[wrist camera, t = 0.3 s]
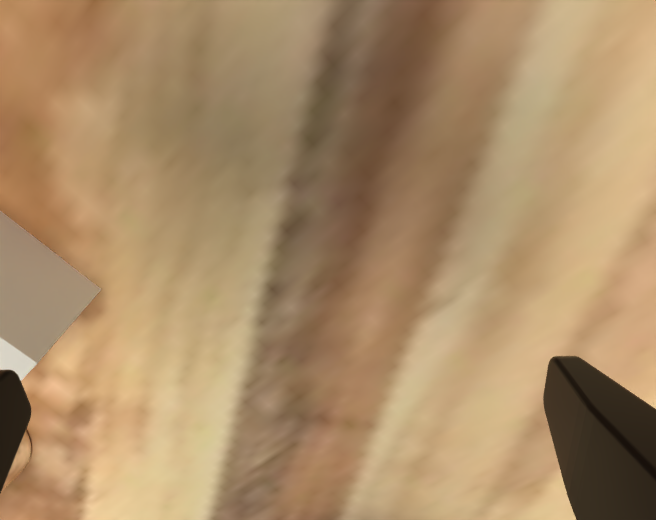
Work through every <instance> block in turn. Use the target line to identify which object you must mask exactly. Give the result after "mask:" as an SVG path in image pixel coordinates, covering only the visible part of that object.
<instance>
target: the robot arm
mask: <svg viewBox="0 0 656 520" xmlns="http://www.w3.org/2000/svg"><path fill="white" fill-rule="evenodd" d="M543 401H544V409H545V413H546V417H547V421H548V425H549V428H550V432H551V436H552V440H553V443H554V447H555V451H556V455H557V458H558V462H559V466H560V470H561V473H562V477H563V481H564V485H565V488H566V491H567V495H568V498H569V501H570V503H571V506H572V509H573V512H574V514H575V517H576V519H577V520H656V409H655V408H653V407H652V406H650V405H649V404H647V403H646V402H645V401H643V400H642V399H640V398H639V397H637V396H636V395H634V394H633V393H631V392H630V391H628V390H627V389H625V388H624V387H622V386H621V385H620V384H618V383H617V382H615V381H614V380H612V379H611V378H609V377H608V376H606V375H605V374H603V373H602V372H600V371H599V370H598V369H596V368H595V367H593V366H592V365H590V364H589V363H587V362H586V361H584V360H583V359H581V358H579V357H577V356H555V357H553V358H552V359H551V360H550V362H549V365H548V370H547V377H546V383H545V389H544V397H543ZM30 417H31V406H30V403H29V400H28V398H27V395H26V393H25V390H24V388H23V386H22V383H21V381H20V378H19V376H18V374H17V373H16V372H15V371H13V370H0V493H1V491H2V488H3V486H4V483H5V481H6V478H7V476H8V473H9V471H10V468H11V466H12V463H13V461H14V458H15V456H16V453H17V451H18V448H19V446H20V443H21V441H22V438H23V436H24V433H25V431H26V428H27V426H28V423H29V421H30Z"/></svg>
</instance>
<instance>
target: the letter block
mask: <svg viewBox="0 0 656 520" xmlns="http://www.w3.org/2000/svg"><path fill="white" fill-rule="evenodd" d="M100 291H101V288H99V287H98V286H97V285H95V284H94V283H93V282H92V281H90V280H89V279H88V278H86V277H85V276H84V275H83V274H81V273H80V272H79V271H77V270H76V269H75V268H74V267H72V266H71V265H70V264H68V263H67V262H66V261H65V260H63V259H62V258H61V257H59V256H58V255H57V254H56V253H54V252H53V251H52V250H50V249H49V248H48V247H47V246H45V245H44V244H43V243H41V242H40V241H39V240H38V239H36V238H35V237H34V236H32V235H31V234H30V233H29V232H27V231H26V230H25V229H23V228H22V227H21V226H20V225H18V224H17V223H16V222H14V221H13V220H12V219H11V218H9V217H8V216H7V215H6V214H4V213H3V212H2V211H0V370H13V371H15V372H16V373H17V374H18V376H19V378H20V381H21V380H22V379H23V378H24V377H25V376H26V375H27V374H28V373H29V372H30V371H31V370H32V369H33V368H34V367H35V365H36V364H37V363H38V362H39V361H40V360H41V359H42V358H43V356H44V355H45V354H46V353H47V352H48V351H49V349H50V348H51V347H52V346H53V345H54V344H55V343H56V341H57V340H58V339H59V338H60V337H61V336H62V334H63V333H64V332H65V331H66V330H67V329H68V328H69V326H70V325H71V324H72V323H73V322H74V321H75V319H76V318H77V317H78V316H79V315H80V314H81V312H82V311H83V310H84V309H85V308H86V307H87V306H88V304H89V303H90V302H91V301H92V300H93V299H94V297H95V296H96V295H97V294H98V293H99V292H100Z"/></svg>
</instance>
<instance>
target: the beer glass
mask: <svg viewBox="0 0 656 520" xmlns="http://www.w3.org/2000/svg"><path fill="white" fill-rule="evenodd" d="M30 456H31V442H30V439H29V436H28V434H27V432H26V431H25V433H24V436H23V438H22V441H21V443H20V446H19V448H18V451H17V453H16V456H15V458H14V461H13V463H12V466H11V468H10V471H9V473H8V476H7V478H6V481H5V483H4V486H3V488H2V491H3V490H4V489H5V488H6V487H7V486H8V485H9V484H10V483H11V482H12V481H13V480H14V479H15V478H16V477H17V476H18V475H19V474H20V473H21V472H22V471H23V469H24V468H25V467H26V465H27V463H28V461H29V459H30ZM2 491H1V492H2Z"/></svg>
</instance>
